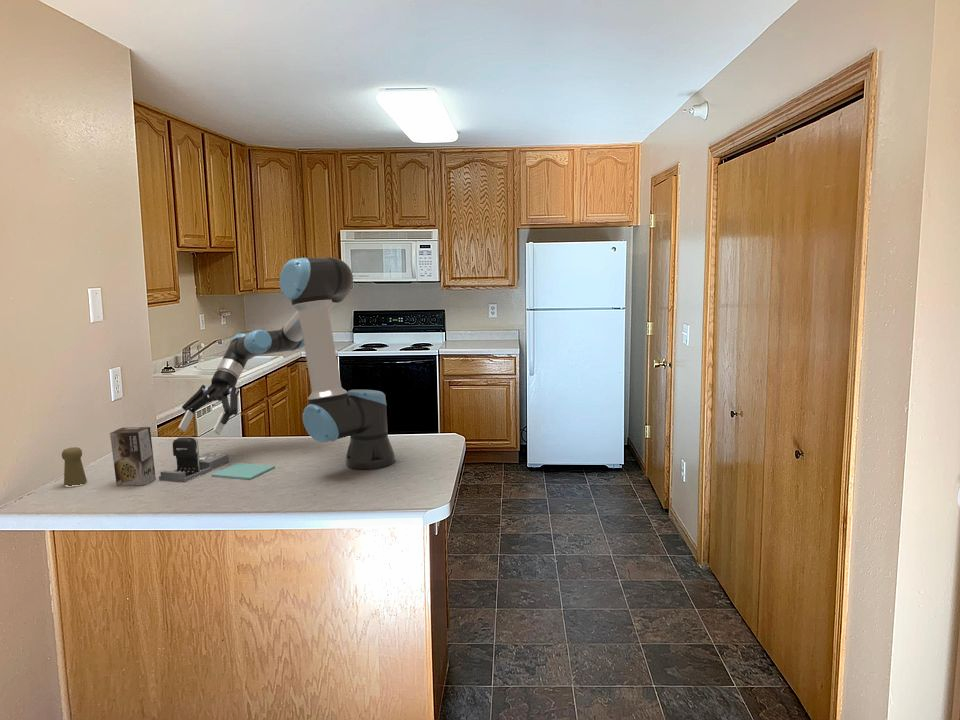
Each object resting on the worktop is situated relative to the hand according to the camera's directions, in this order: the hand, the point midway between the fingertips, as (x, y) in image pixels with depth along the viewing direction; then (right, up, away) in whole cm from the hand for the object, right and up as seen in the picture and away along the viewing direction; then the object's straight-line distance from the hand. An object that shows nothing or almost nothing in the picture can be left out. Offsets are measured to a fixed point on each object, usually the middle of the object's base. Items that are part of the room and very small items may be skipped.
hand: (198, 431), depth 216 cm
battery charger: (-1, -13, -6) cm, 14 cm away
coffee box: (-14, -14, -12) cm, 23 cm away
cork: (-32, -15, -12) cm, 37 cm away
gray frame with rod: (-4, -12, -1) cm, 13 cm away
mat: (+16, -12, -5) cm, 21 cm away
